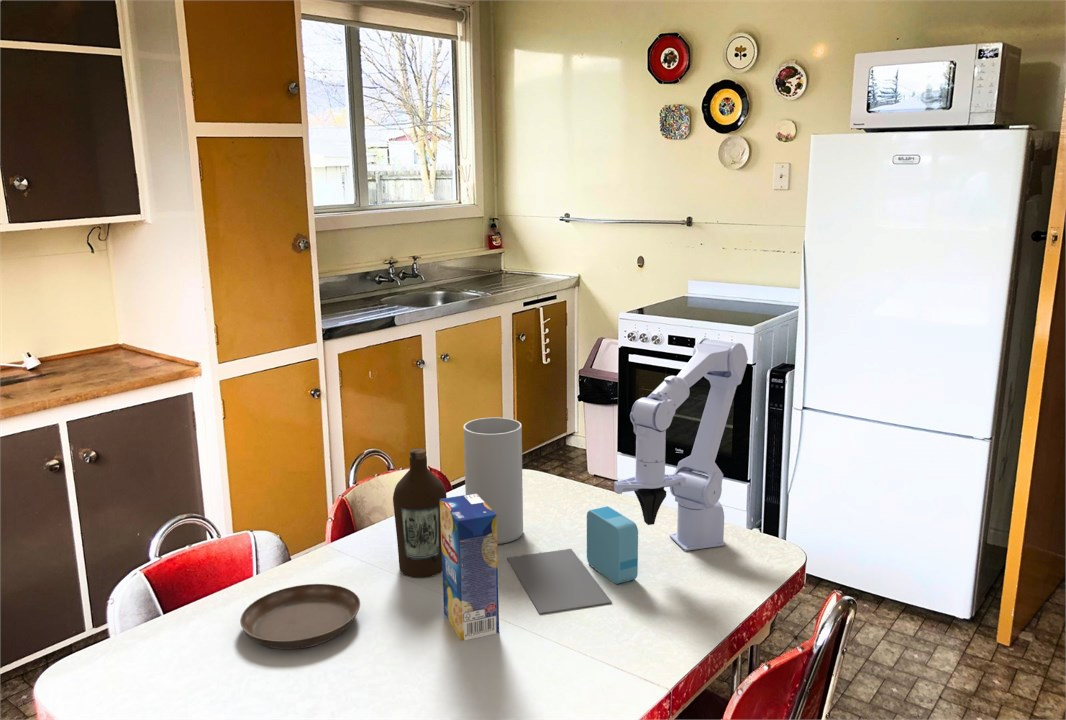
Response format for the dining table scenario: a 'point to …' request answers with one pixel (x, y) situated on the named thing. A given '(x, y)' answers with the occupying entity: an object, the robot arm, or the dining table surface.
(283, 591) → the plant saucer
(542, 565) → the mat
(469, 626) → the beverage box
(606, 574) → the data package
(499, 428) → the cylinder vase
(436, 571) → the olive oil
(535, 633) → the dining table surface
